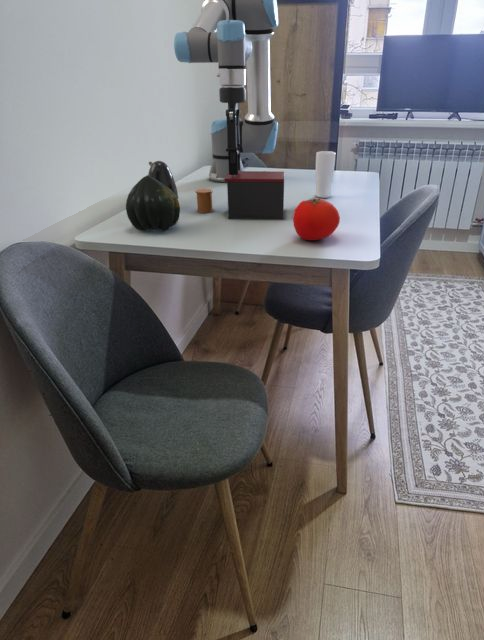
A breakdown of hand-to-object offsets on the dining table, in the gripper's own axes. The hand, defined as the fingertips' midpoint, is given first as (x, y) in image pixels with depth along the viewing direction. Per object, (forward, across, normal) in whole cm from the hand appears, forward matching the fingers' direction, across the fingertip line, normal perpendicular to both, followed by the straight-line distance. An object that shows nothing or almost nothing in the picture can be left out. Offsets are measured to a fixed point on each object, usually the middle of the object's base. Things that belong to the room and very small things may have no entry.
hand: (234, 172), depth 146 cm
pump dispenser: (+13, -4, -24) cm, 28 cm away
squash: (+13, +17, -22) cm, 31 cm away
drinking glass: (+13, -25, +30) cm, 41 cm away
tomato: (+13, +25, +24) cm, 37 cm away
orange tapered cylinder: (+13, -3, -10) cm, 17 cm away
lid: (+2, 0, +6) cm, 7 cm away
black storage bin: (+13, 0, +7) cm, 14 cm away
